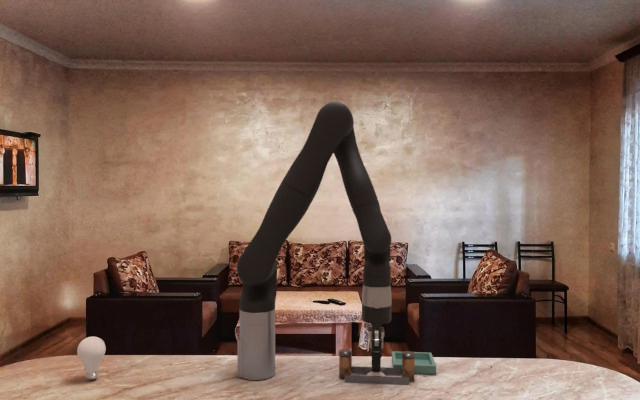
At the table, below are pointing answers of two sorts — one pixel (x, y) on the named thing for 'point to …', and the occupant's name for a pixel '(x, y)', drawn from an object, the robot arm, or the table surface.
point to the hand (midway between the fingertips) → (376, 369)
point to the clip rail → (405, 371)
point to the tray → (417, 362)
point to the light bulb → (91, 355)
